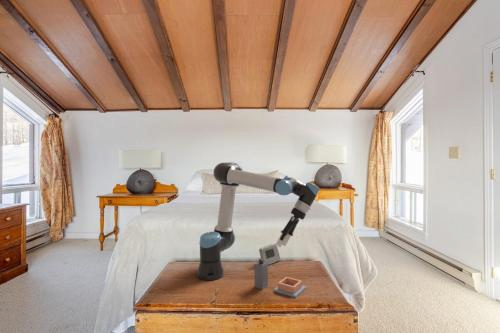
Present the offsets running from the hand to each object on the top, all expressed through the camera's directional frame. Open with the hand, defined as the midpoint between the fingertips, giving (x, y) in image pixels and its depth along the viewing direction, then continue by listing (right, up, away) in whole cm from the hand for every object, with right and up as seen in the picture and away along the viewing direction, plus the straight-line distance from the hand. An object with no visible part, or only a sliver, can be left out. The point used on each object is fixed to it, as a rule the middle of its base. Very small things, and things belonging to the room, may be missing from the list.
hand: (280, 245), depth 145 cm
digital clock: (-3, -20, +32) cm, 38 cm away
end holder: (+4, -20, -7) cm, 22 cm away
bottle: (-10, -21, -3) cm, 23 cm away
